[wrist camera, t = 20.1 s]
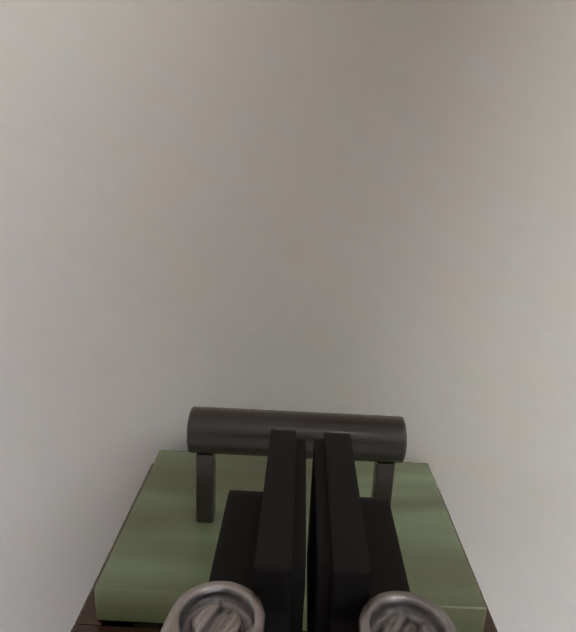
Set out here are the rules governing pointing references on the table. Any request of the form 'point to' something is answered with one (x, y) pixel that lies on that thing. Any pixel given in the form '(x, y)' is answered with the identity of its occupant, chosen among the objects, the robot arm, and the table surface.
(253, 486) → the drawer
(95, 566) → the table surface
